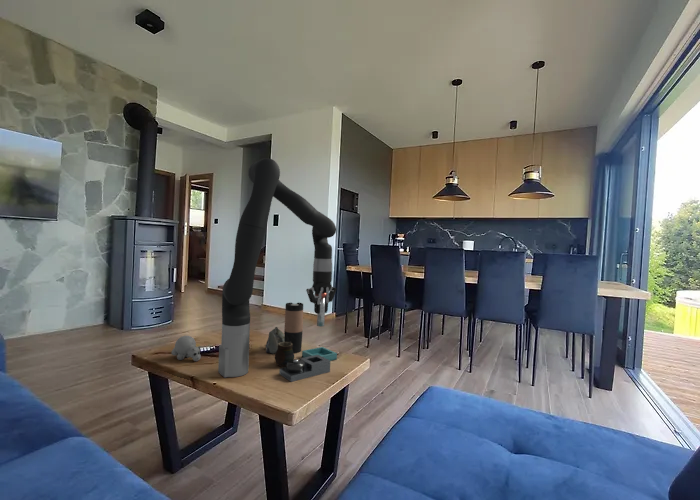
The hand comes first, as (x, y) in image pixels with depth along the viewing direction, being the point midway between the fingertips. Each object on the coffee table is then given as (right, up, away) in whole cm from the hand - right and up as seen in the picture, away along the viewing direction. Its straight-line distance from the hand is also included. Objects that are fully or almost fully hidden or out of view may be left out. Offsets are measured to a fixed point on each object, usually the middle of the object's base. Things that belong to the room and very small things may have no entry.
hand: (321, 312), depth 135 cm
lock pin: (0, -5, 0) cm, 5 cm away
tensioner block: (-4, -18, -16) cm, 25 cm away
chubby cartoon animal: (-50, -17, -7) cm, 53 cm away
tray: (-1, -18, 0) cm, 18 cm away
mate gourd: (-13, -18, -9) cm, 24 cm away
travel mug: (-13, -18, +8) cm, 24 cm away
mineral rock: (-20, -18, +10) cm, 28 cm away
